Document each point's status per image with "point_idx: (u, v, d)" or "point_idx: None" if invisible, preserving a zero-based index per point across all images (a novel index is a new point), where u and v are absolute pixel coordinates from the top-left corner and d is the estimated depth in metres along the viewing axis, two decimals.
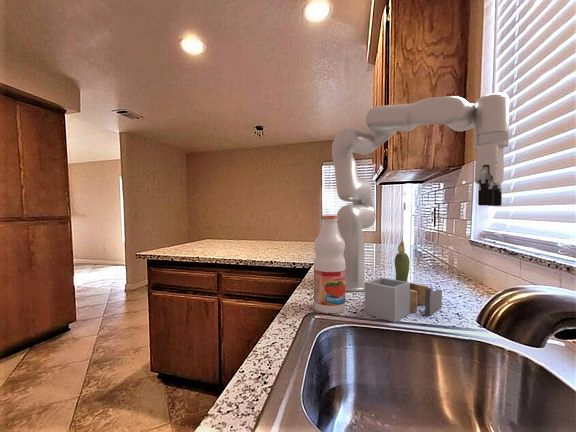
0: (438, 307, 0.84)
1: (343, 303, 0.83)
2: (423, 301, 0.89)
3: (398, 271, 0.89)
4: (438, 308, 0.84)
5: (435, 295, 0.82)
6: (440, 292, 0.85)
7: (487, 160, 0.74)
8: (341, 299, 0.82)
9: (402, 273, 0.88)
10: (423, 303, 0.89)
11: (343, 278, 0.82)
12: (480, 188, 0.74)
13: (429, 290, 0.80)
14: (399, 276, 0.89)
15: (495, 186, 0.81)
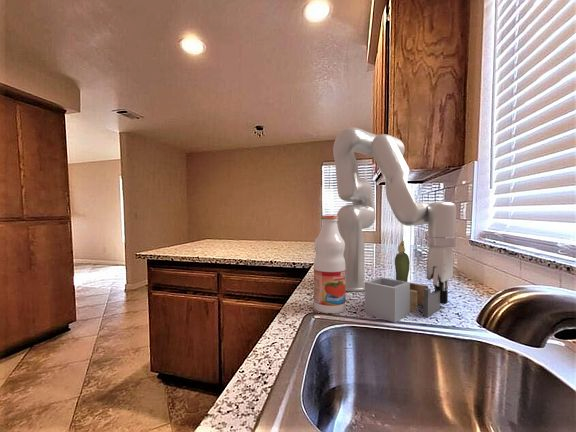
0: (436, 308, 0.83)
1: (343, 303, 0.83)
2: None
3: (398, 271, 0.89)
4: (436, 309, 0.83)
5: (433, 296, 0.81)
6: (438, 293, 0.84)
7: (436, 263, 0.83)
8: (341, 299, 0.82)
9: (402, 273, 0.88)
10: None
11: (343, 278, 0.82)
12: (436, 289, 0.87)
13: (427, 291, 0.79)
14: (399, 276, 0.89)
15: None
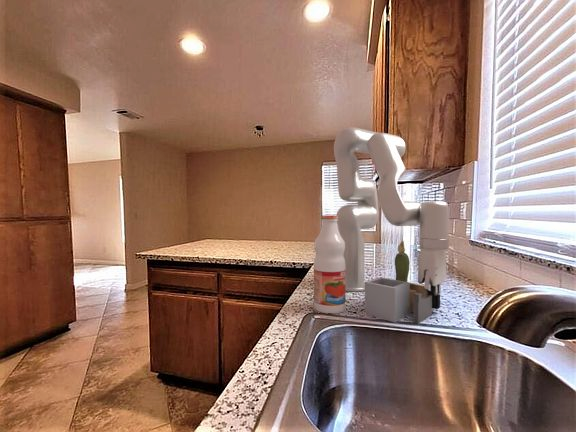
0: (428, 314, 0.79)
1: (343, 303, 0.83)
2: None
3: (398, 271, 0.89)
4: (428, 315, 0.79)
5: (425, 301, 0.77)
6: (430, 298, 0.80)
7: (428, 265, 0.79)
8: (341, 299, 0.82)
9: (402, 273, 0.88)
10: None
11: (343, 278, 0.82)
12: (428, 294, 0.82)
13: (418, 296, 0.74)
14: (399, 276, 0.89)
15: None
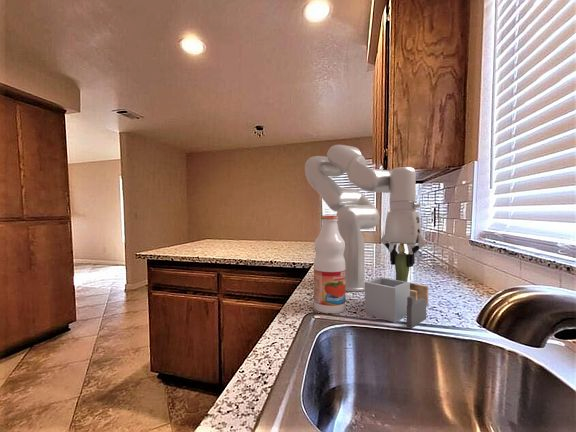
0: (422, 318, 0.76)
1: (343, 303, 0.83)
2: None
3: (398, 271, 0.89)
4: (422, 319, 0.76)
5: (418, 305, 0.74)
6: (424, 301, 0.77)
7: None
8: (341, 299, 0.82)
9: (402, 273, 0.88)
10: None
11: (343, 278, 0.82)
12: None
13: (411, 299, 0.71)
14: (399, 276, 0.89)
15: None
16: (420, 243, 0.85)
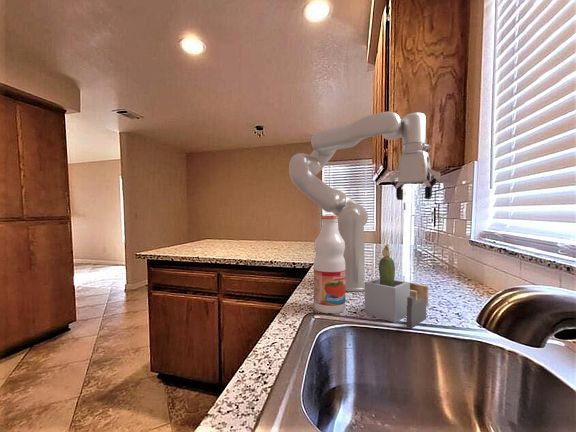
0: (422, 318, 0.76)
1: (343, 303, 0.83)
2: None
3: (382, 277, 0.80)
4: (422, 319, 0.76)
5: (418, 305, 0.74)
6: (424, 301, 0.77)
7: None
8: (341, 299, 0.82)
9: (387, 280, 0.80)
10: None
11: (343, 278, 0.82)
12: None
13: (411, 299, 0.71)
14: (383, 282, 0.81)
15: None
16: (435, 175, 0.94)
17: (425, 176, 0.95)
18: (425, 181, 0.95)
